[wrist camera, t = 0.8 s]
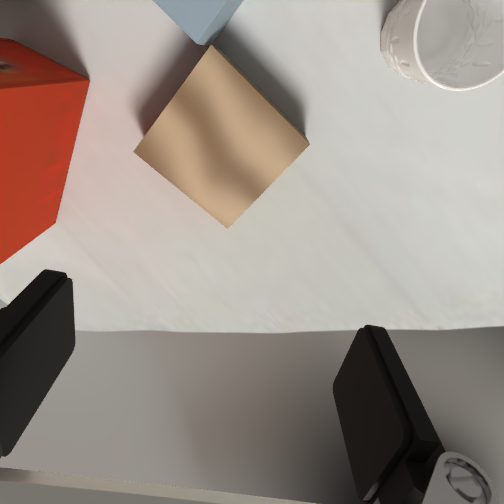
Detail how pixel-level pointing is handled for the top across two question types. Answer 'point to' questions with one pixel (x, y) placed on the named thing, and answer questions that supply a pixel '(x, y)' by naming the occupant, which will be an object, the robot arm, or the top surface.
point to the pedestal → (221, 139)
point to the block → (200, 17)
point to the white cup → (446, 42)
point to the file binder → (34, 141)
